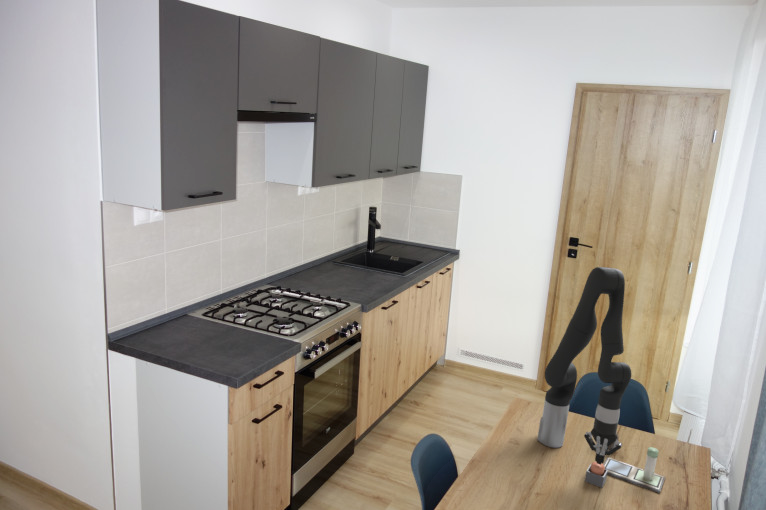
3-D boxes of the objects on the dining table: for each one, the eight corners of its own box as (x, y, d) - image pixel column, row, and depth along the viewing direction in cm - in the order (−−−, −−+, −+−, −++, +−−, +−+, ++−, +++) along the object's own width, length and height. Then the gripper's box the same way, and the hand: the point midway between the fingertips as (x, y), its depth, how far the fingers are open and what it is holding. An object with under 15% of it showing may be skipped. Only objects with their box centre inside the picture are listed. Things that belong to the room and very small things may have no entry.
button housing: (584, 481, 212) (586, 471, 211) (589, 473, 217) (590, 463, 216) (602, 487, 209) (604, 477, 208) (606, 480, 214) (608, 469, 213)
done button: (588, 474, 211) (590, 465, 211) (591, 468, 215) (593, 460, 214) (601, 479, 209) (603, 470, 208) (604, 473, 213) (606, 464, 212)
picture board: (600, 471, 218) (600, 469, 218) (607, 458, 228) (607, 456, 227) (659, 493, 208) (660, 490, 208) (664, 478, 217) (665, 476, 217)
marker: (641, 478, 215) (647, 450, 212) (643, 473, 217) (648, 446, 215) (652, 481, 213) (657, 453, 210) (654, 477, 216) (659, 449, 213)
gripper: (629, 419, 207) (621, 465, 211) (590, 407, 214) (582, 452, 218) (624, 428, 201) (616, 474, 205) (584, 415, 208) (577, 460, 211)
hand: (599, 462), depth 211 cm, fingers closed
